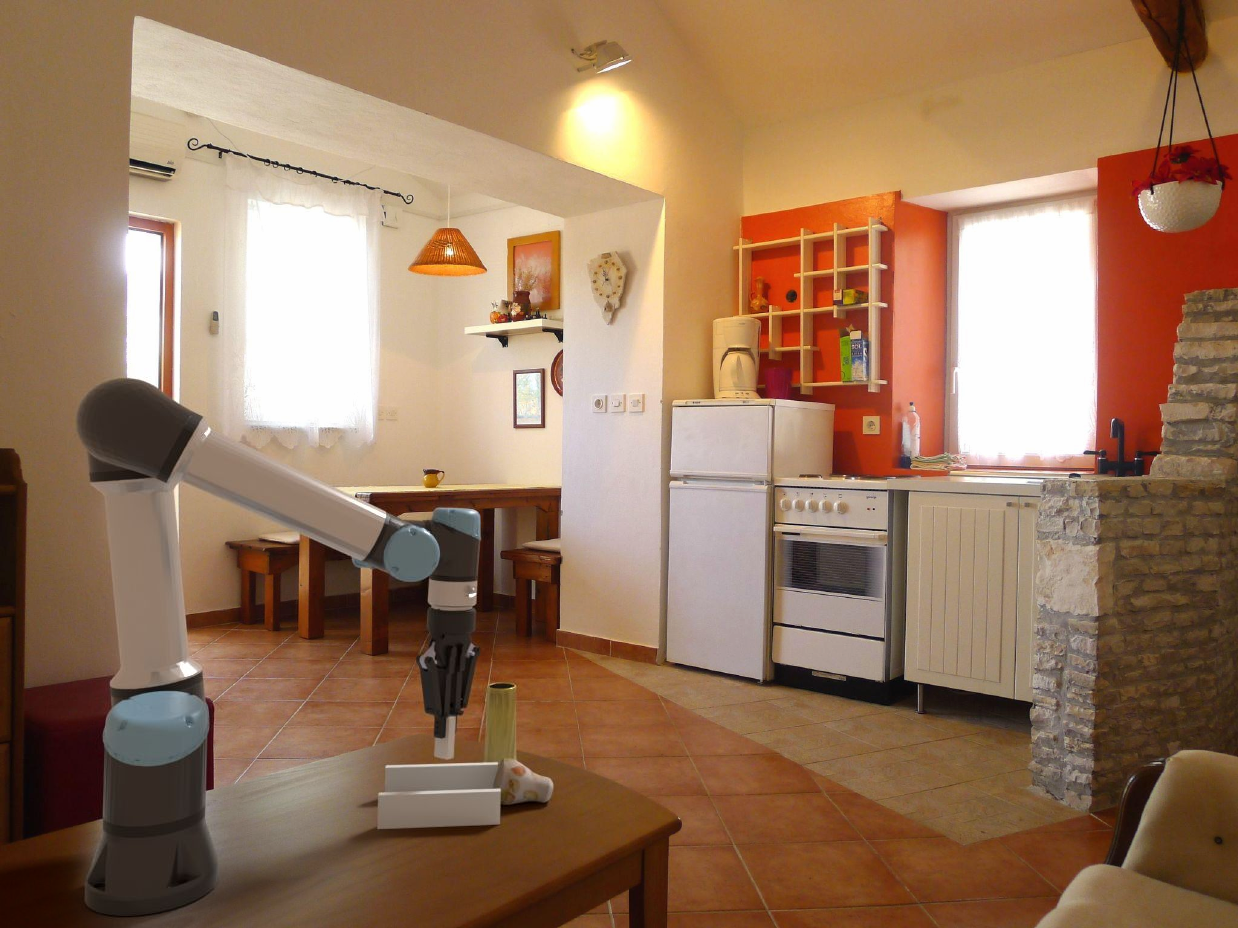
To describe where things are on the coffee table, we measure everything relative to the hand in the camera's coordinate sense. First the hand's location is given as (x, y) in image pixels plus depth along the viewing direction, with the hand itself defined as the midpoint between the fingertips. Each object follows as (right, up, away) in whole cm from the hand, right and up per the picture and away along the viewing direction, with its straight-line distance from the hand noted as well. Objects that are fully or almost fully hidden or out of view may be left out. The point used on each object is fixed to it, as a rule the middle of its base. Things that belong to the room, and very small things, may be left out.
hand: (443, 756), depth 145 cm
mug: (+12, -9, +5) cm, 16 cm away
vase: (+6, -9, +22) cm, 25 cm away
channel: (-1, -8, 0) cm, 8 cm away
